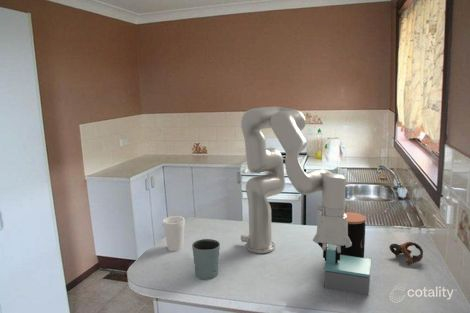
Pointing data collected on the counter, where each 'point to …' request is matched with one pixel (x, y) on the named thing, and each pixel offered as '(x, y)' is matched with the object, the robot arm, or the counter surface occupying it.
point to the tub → (347, 282)
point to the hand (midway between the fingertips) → (331, 260)
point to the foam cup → (174, 232)
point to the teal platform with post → (346, 263)
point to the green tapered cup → (206, 258)
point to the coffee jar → (355, 235)
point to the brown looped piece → (407, 251)
